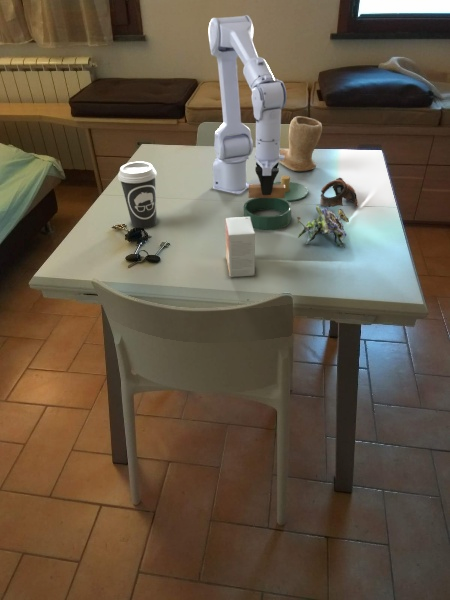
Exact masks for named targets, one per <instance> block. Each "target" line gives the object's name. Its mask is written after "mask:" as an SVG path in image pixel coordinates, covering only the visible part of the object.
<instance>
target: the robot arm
mask: <svg viewBox="0 0 450 600" xmlns="http://www.w3.org/2000/svg"><path fill="white" fill-rule="evenodd" d="M253 24H254V23H253V21H252V18H251V17H250V16H249V15H248V14H244V15H240V16H239V15H238V16H227V17H212V18H211V19H210V22H209V25H208V41H209V49H210V55H211V56H213V57H215V58H216V62H217V69H218V80H219V89H220V90H219V91H220V99H221V100H220V101H221V110H222V121H223V122H222V124H221V125H220V126H219V128H217V130H215V132H214V145H213V147H214V153H215V156H216V157H215V159H214V161H213V164H212V182H213V187H212V189H214V190H218V191H222V192H227V193H232V194H236V195H240V194H242V193H243V192H245V191H246V190H248V189H249V184H250V183H249V182H247V172H248V171H247V160H249V159H250V158H249V157H250V156H251V155H252V153H253V151H254V142H253V139H252V133H251V129H250V128H249V127H248V126H247V125H245V124H244V123H243V122H242V115H241V104H240V93H239V92H240V90H239V78H238V64H237V59H238V58H239V59H240V61H241V63H242V64H243V69H242V73H243V77H244V79H245V81H246V82H247V85H248V86H249V89H250V91H251V104H252V109H253V117H254V119H255V155H254V160H255V165H256V166H255V173H256V175H257V177H258V181H259V184H260V185H261V191H262V195H271V192H272V188H273V184H274V183H275V180H276V178H277V176H278V174H279V172H280V168H279V165H280V163H279V161H283V160H284V155H280V150H281V149H280V148H281V130H282V129H281V128H282V109H284V108H285V107H286V104H287V100H288V99H287V98H288V96H287V95H288V94H287V89H286V86H285V83H284V81H283V80H279V78H275V77H274V75H273V73H272V71H271V68H270V66H269V64H268V63H267V61H266V60H265V58H264V57H261V56H259V54H258V53H257V50H256V47H255V45H254V41H253V37H254V25H253Z"/></svg>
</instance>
